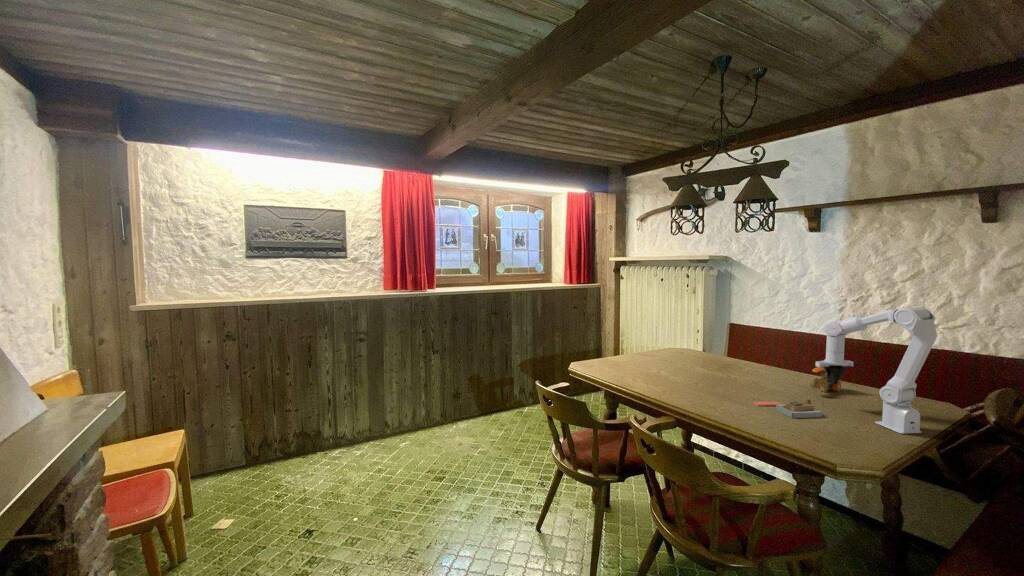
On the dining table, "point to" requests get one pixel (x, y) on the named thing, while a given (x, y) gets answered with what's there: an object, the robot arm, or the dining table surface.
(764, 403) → the wing plank
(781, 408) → the cradle jig
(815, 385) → the orange handled valve
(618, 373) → the dining table surface
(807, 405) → the fuselage block
